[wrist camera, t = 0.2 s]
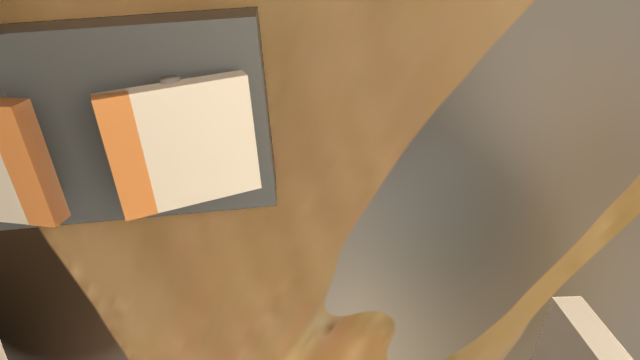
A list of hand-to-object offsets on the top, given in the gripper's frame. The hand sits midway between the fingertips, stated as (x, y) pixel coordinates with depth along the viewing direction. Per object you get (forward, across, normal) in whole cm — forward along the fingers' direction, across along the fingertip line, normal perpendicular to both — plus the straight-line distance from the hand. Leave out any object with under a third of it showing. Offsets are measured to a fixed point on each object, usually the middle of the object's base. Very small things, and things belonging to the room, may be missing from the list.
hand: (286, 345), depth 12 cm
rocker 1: (+21, -18, -5) cm, 28 cm away
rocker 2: (+21, -6, -4) cm, 22 cm away
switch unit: (+28, -12, -4) cm, 30 cm away
